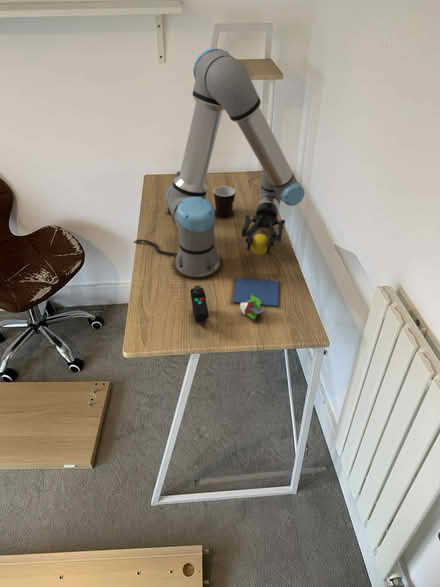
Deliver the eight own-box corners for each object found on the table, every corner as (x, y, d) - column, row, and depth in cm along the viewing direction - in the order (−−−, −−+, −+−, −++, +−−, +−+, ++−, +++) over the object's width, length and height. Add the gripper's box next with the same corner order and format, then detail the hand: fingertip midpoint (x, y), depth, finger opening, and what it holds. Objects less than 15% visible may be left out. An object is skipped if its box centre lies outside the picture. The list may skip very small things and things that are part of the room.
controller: (204, 306, 135) (203, 280, 128) (210, 334, 126) (210, 308, 119) (190, 307, 134) (189, 282, 128) (195, 335, 125) (194, 310, 119)
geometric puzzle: (255, 296, 135) (246, 287, 129) (272, 306, 132) (264, 297, 125) (242, 315, 135) (232, 307, 128) (259, 326, 131) (250, 318, 125)
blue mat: (232, 303, 136) (232, 301, 136) (236, 279, 145) (236, 278, 145) (277, 306, 135) (277, 305, 134) (278, 282, 144) (278, 281, 144)
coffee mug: (226, 221, 174) (226, 198, 167) (209, 214, 178) (209, 192, 171) (242, 209, 181) (244, 187, 174) (226, 203, 185) (226, 181, 178)
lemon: (249, 250, 144) (251, 229, 139) (266, 249, 144) (268, 229, 139) (251, 260, 140) (253, 239, 135) (268, 259, 140) (271, 238, 135)
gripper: (292, 224, 153) (286, 262, 135) (240, 218, 155) (228, 254, 138) (295, 205, 148) (289, 242, 130) (241, 199, 151) (229, 234, 133)
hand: (258, 248), depth 134 cm, fingers closed on lemon, 5 cm apart
